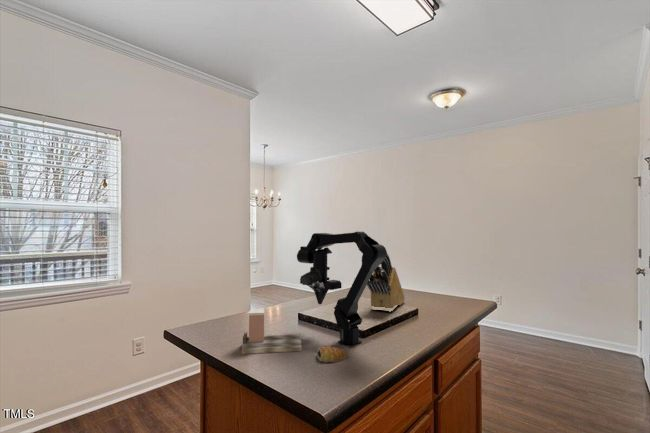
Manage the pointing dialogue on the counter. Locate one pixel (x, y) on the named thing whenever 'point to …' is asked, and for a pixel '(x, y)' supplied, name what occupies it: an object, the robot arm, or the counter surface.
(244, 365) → the counter surface
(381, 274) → the knife block
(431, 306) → the counter surface
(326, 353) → the pastry
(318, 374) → the counter surface
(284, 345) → the track
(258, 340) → the pink tall block
